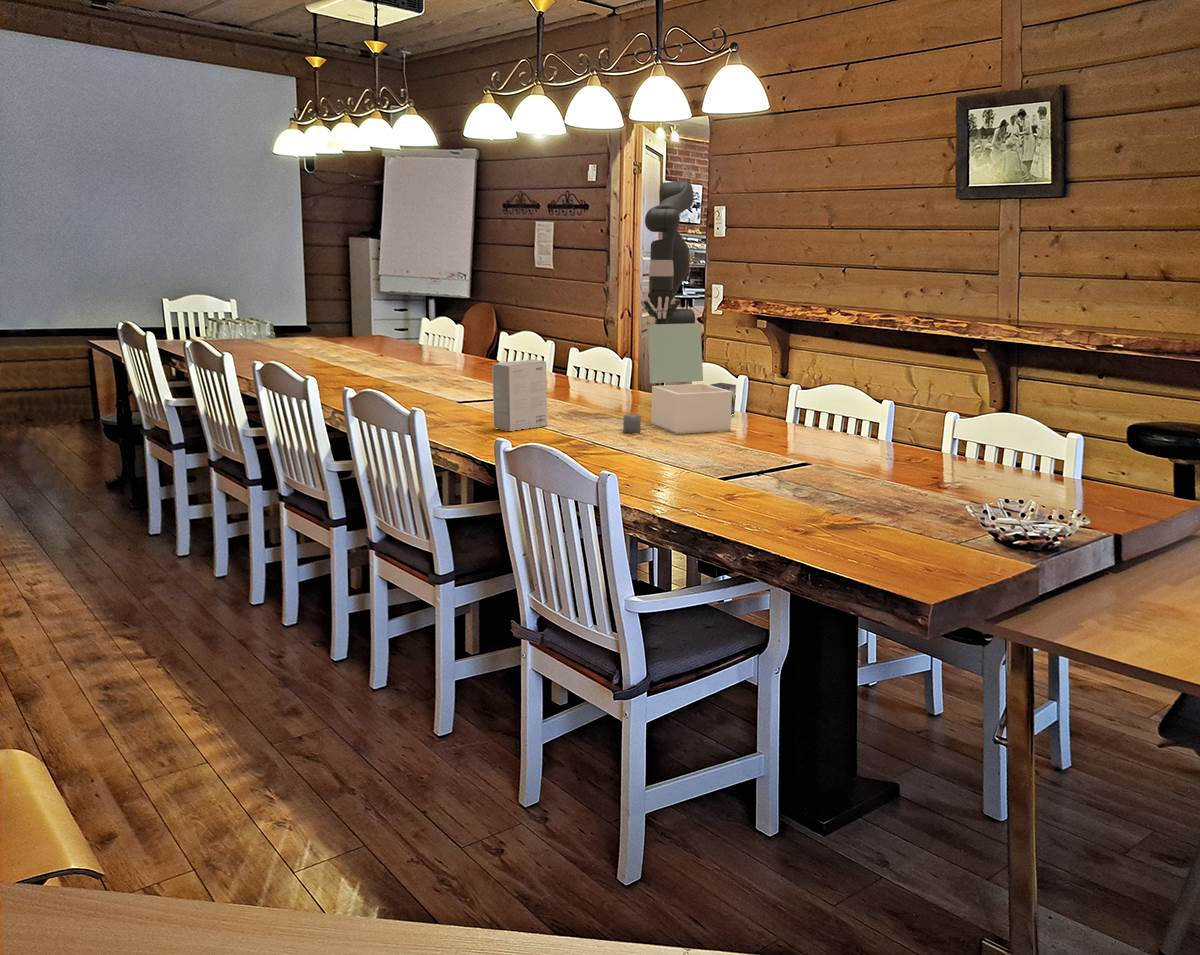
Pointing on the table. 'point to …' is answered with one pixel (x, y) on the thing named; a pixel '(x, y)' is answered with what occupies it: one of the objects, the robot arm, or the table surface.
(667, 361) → the lid
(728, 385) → the small box
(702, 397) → the storage box
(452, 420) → the table surface
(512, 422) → the hard drive box
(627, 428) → the dark grey cylinder
